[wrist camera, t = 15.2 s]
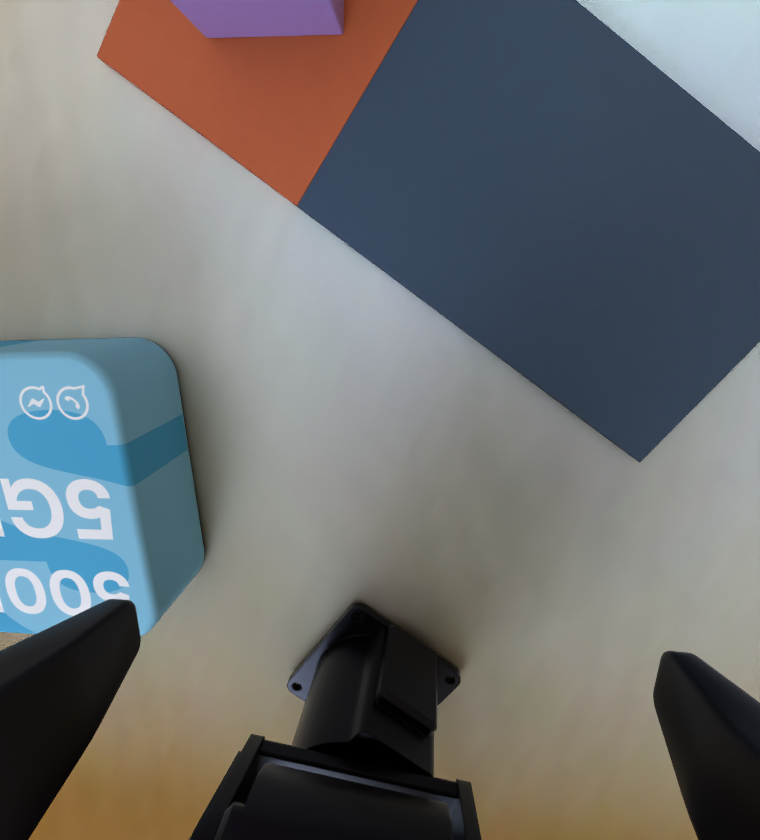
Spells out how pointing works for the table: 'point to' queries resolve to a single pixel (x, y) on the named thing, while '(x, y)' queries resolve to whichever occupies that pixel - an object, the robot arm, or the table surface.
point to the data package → (92, 481)
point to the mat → (498, 183)
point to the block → (264, 17)
